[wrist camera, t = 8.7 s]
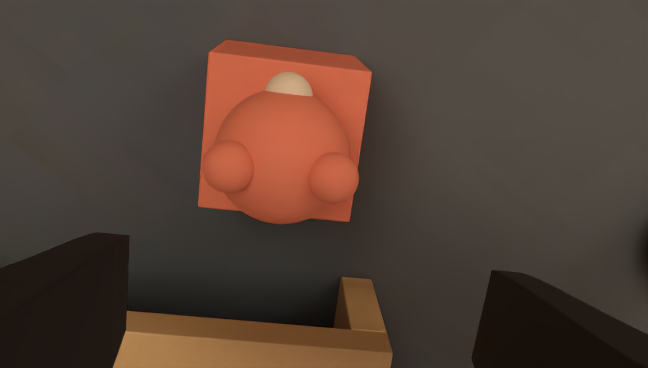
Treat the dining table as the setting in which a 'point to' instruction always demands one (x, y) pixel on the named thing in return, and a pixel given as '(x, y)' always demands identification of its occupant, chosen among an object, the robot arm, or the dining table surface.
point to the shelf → (261, 339)
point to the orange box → (282, 132)
